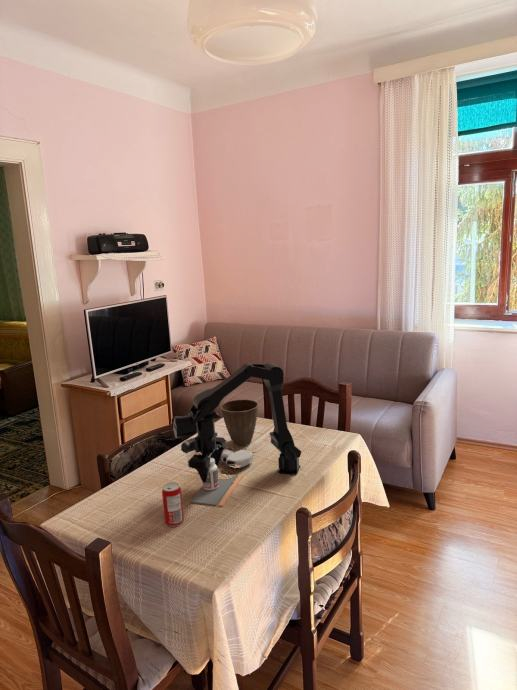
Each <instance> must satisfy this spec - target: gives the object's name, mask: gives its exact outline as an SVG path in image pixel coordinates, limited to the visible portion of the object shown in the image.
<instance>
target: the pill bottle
mask: <svg viewBox="0 0 517 690" xmlns="http://www.w3.org/2000/svg"><path fill="white" fill-rule="evenodd" d="M209 458H210V464H211V465H210V469H209V473H208V477H207V481H206V483H204V482H202V486H203V488H204V489H205V490H214V489H216V488H218V487H219V480H218V473H219V471H218V469H219V468H218V467H217V465H216V464H215V459H214V458H211V457H209Z"/></svg>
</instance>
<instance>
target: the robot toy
mask: <svg viewBox="0 0 517 690" xmlns="http://www.w3.org/2000/svg"><path fill="white" fill-rule="evenodd" d="M257 452H258V451H251V450H246V449H240V450H237V451H233V450H232V448H226V449H224V451H223V453H222V456H221V459H220V461H219V463H221V462H223V463H222V464H225V463H226V466H227V467H228V466H235V465H241V466H240V468H239V469H241V468H244V467H245V466H248V465H249V464H250V463H251V462H252V461H253V460H254V453H255V454H256V453H257Z"/></svg>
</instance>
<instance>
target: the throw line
mask: <svg viewBox="0 0 517 690" xmlns="http://www.w3.org/2000/svg"><path fill="white" fill-rule="evenodd" d="M242 477H244V474H238V476H237V478H236V479H235V480H234V482H233V483H232V485H231V486H230V487H229V489H228V490H227V492H226V493H225V494H224V496H223V497H222V499H221V500H220V502H219V503H218V507H222V508H223V507H224V506H225V503H226V502H227V501H228V499H229V498H230V497H231V495H232V494H233V492H234V491H235V489H236V488H237V487H238V485H239V484H240V480H241V481H242V479H243V478H242Z"/></svg>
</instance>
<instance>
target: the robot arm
mask: <svg viewBox="0 0 517 690" xmlns="http://www.w3.org/2000/svg"><path fill="white" fill-rule="evenodd" d="M284 377H285V372H284V370H283V369H282V367H280V366H278V365H276V364H275V363H272V362H267V363H265V364H264V363H263V364H262V363H251V362H246V363H244V364H242V365H241V366H240V368H238V369H237V370H236V371H234V372H233V373H232V374H230V375H228V377H226V378H225V379H224V380H222V381H221V382H220V383H219V384H216V386H213V387H212V388H209V389H205V390H204V391H201V392H200V393H198V394H196V395H195V397H193V403H192V406H191V407H190V409H189V410H188V414H186V415H180V416H178V415H177V416H173V424H172V429H173V434H174V437H175V439H180V438H185V437H191V436H194V435H195V434H196V432H197V435H196V436H195V437H192V438H188V439H186V440H185V441H182V443H181V444H180V451H181V452H183V453H184V454H189V453H191V452H194V451H195V453H200V454H193V455H192V456H191V457H190V458H189V459H188V461H187V464H188V465H187V466H188V468H189V469H190V468H192V469H195V470H196V471H197V473H198V475H199V477H200V479H201V482H202V483H203V482H204V483H206V481H207V477H208V473H209V469H210V465H211V464H210V458H214V459H215V464H216V465H217V468H218V467H219V464H220V462H219V461H220V459H221V456H222V453H223V451H224V450H226V449H225V448H226V446H227V440H226V439H225V438H224V437H220V436H218V432H216V428H215V427H216V426H215V420H216V419H220V418H221V416H220V415H219V413H218V412H217V411H215V410H216V409H217V408H218V407H219V406H220V404H221V402H222V401H223V400H224V399H225V398H226V397H227V396H228V395H230V394H231V393H232V392H233V391H235V390H236V389H238V388H239V387H240V386H241V385H243V384H244V383H246V381H248V380H249V379H250V378H257V379H262V380H263V382H264V384H265V387H266V389H267V390H268V397H269V402H270V408H271V414H272V415H271V416H272V422H273V426H274V427H273V431H271V432H269V436H270V443H271V445H273V447H274V448H275V449H277V450H278V451H279V452H280V453H279V457H278V469H279V470H278V473H279V474H287V475H298V473H299V470H300V468H301V465H300V460H299V459H300V457H301V454H302V450H300V449H299V448H298V447H297V446H296V445H295V442H294V439H293V436H292V434H291V432H290V430H289V428H288V422H287V417H286V416H287V415H286V411H285V410H286V409H285V404H284V398H283V391H282V390H283V386H284V383H285V381H284V379H285V378H284Z"/></svg>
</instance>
